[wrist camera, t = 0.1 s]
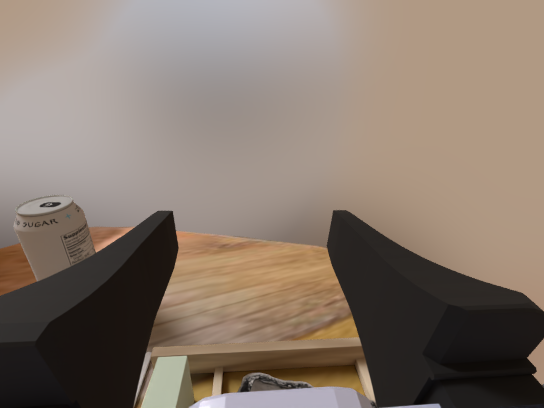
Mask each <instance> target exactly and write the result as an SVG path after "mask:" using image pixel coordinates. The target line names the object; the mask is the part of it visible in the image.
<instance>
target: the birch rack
mask: <svg viewBox="0 0 544 408" xmlns="http://www.w3.org/2000/svg"><path fill="white" fill-rule="evenodd" d="M171 356H187V357H188V363H189V370H190V374H198V373H214V381H213V390H212V396H216V395H221V393H222V382H223V372H234V371H252V370H270V369H287V368H305V367H323V366H341V365H355V368H356V370H357V373H358V376H359V379H360V381H361V384H362V387H363V389H364V392H365V395H366V397H367V398H368V399H369V400H373V401H375V397H374V392H373V388H372V384H371V380H370V376H369V372H368V368H367V364H366V360H365V356H364V352H363V349H362V345H361V342H360V338H338V339H316V340H295V341H274V342H253V343H232V344H211V345H189V346H168V347H153V350H152V353H151V356H150V358H151V362H152V366H153V371H154V368H155V365H156V362H157V359H158V357H171ZM152 374H153V373H152ZM151 377H152V376H151ZM150 380H151V379H150ZM149 383H150V382H149ZM148 386H149V385H148ZM147 389H148V388H147ZM146 392H147V391H146ZM145 396H146V394H145ZM144 399H145V397H144ZM143 402H144V400H143ZM142 405H143V403H142ZM141 408H142V406H141Z"/></svg>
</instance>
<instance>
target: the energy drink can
mask: <svg viewBox="0 0 544 408" xmlns="http://www.w3.org/2000/svg"><path fill="white" fill-rule="evenodd" d="M15 211H16V213H17V217H16V220H15V223H14V229H15V232H16V234H17V236H18V239H19V241H20V243H21V245H22V248H23V250H24V252H25V255H26V257H27V259H28V261H29V264H30V266H31V268H32V270H33V273H34V275H35V277H36V280H37V281H40V280H42V279H45V278H47V277H49V276H51V275H53V274H55V273H58V272H60V271H62V270H64V269H66V268H68V267H71V266H73V265H75V264H77V263H79V262H80V261H82V260H84V259H86V258H88V257H90V256H92V255H93V254H95V253H96V251H95V248H94V245H93V241H92V238H91V235H90V232H89V228H88V225H87V222H86V218H85V215H84V212H83V210H82V209H81V208H80V207H79V206H77V205H76V204H75V203H74V202H73V199H72V197H70V196H65V195H52V196H45V197H40V198H36V199H33V200H29V201H27V202H24V203H23V204H20V205H19V206H18V207H17V208H16V209H15Z"/></svg>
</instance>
